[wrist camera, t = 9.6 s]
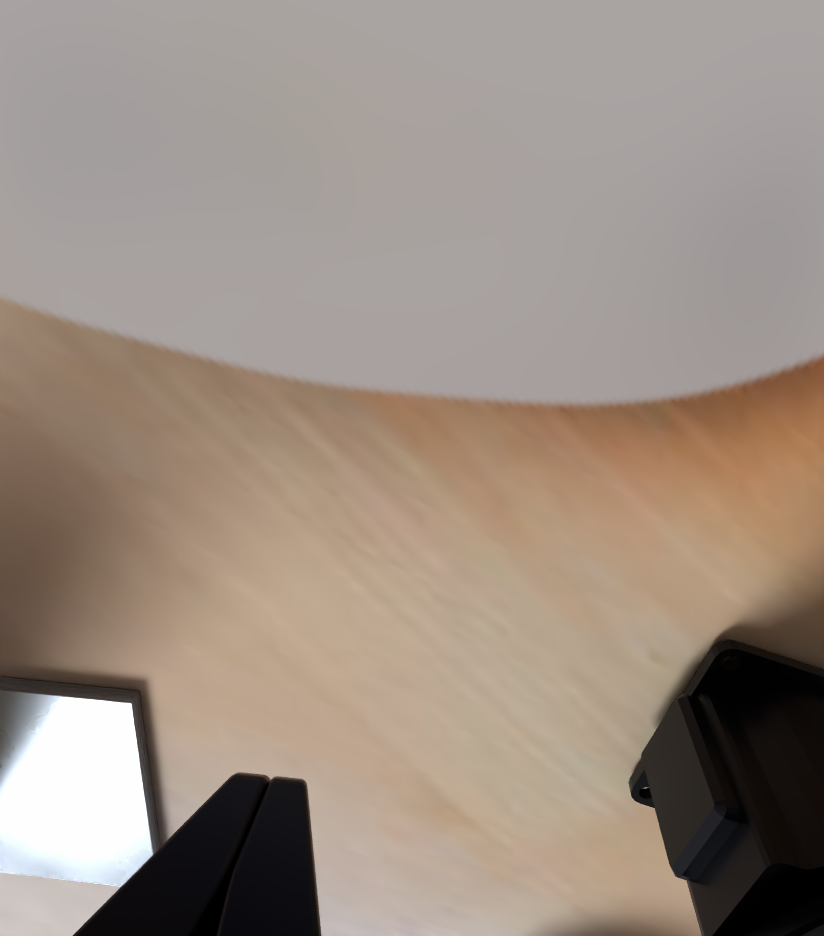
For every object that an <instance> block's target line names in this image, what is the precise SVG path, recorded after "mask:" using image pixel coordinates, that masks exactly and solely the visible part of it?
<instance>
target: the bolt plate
mask: <svg viewBox="0 0 824 936" xmlns="http://www.w3.org/2000/svg"><path fill="white" fill-rule="evenodd" d="M159 848H160V840H159V833H158V826H157V818H156V811H155V804H154V796H153V789H152V782H151V774H150V767H149V760H148V752H147V745H146V738H145V730H144V723H143V716H142V708H141V701H140V694H139V691H135V690H125V689H115V688H105V687H96V686H86V685H76V684H66V683H57V682H47V681H37V680H27V679H18V678H8V677H0V872H3V873H12V874H20V875H28V876H37V877H45V878H53V879H62V880H70V881H78V882H87V883H95V884H103V885H111V886H120V887H121V886H122V885H123V884H124V883H125V882H126V881H127V880H128V879H129V878H130V877H131V876H132V875H133V874H134V873H135V872H136V871H137V870H138V869H139V868H140V867H141V866H142V865H143V864H144V863H145V862H146V861H147V860H148V859H149V858H150V857H151V856H152V855H153V854H154V853H155V852H156V851H157V850H158V849H159Z"/></svg>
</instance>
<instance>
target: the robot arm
mask: <svg viewBox="0 0 824 936" xmlns="http://www.w3.org/2000/svg"><path fill="white" fill-rule="evenodd" d="M728 656H735V657H734V658H733V659H732V660H729V661H723V660H724V659H725V658H726V657H728ZM641 757H642V760H641V761H640V763H639V765H638V766H637V768H636V769H635V771H634V773H633V774H632V776H631V777H630V780H629V787H630V791H631V796H632V798H633V799H634V800H635V801H636V802H638V803H640V804H643V805H646V806H650V807H653V808H655V811H656V814H657V818H658V822H659V826H660V830H661V834H662V837H663V841H664V845H665V849H666V853H667V857H668V860H669V864H670V867H671V869H672V870H673V872H674V874H675V876H676V877H678V878H681V879H684V880H687V884H688V887H689V891H690V895H691V898H692V902H693V905H694V909H695V913H696V916H697V920H698V923H699V927H700V930H701V934H702V936H824V669H821V668H817V667H814V666H811V665H808V664H805V663H802V662H799V661H796V660H793V659H790V658H787V657H784V656H781V655H778V654H774V653H771V652H768V651H765V650H762V649H759V648H756V647H753V646H750V645H747V644H744V643H741V642H738V641H734V640H724V641H720V642H718V643H716V644H715V645H714V646H713V647H712V648H711V649H710V651H709V653H708V654H707V656H706V657H705V659H704V661H703V662H702V664H701V665H700V667H699V669H698V670H697V672H696V673H695V675H694V677H693V678H692V680H691V681H690V683H689V685H688V686H687V688H686V689H685V691H684V693H683V694H682V695H681V696H679V697H678V698H676V699H675V701H674V702H673V704H672V705H671V707H670V709H669V710H668V712H667V713H666V715H665V717H664V718H663V720H662V721H661V723H660V725H659V726H658V728H657V730H656V731H655V733H654V734H653V736H652V738H651V739H650V741H649V742H648V744H647V746H646V747H645V749H644V750H643V752H642V755H641ZM644 787H649V788H646V789H642V788H644ZM73 936H321V926H320V916H319V905H318V895H317V884H316V873H315V863H314V852H313V842H312V831H311V821H310V810H309V799H308V789H307V783H306V782H305V781H304V780H303V779H297V778H288V777H279V776H278V777H274V778H272V779H271V780H270V778H269V777H268V776H266V775H261V774H251V773H236V774H234V775H232V776H231V777H230V778H229V779H228V780H227V781H226V782H225V783H224V784H223V785H222V786H221V787H220V788H219V789H218V790H217V791H216V792H215V793H214V794H213V795H212V796H211V797H210V798H209V799H208V800H207V801H206V802H205V803H204V804H203V805H202V806H201V807H200V808H199V809H198V810H197V811H196V812H195V813H194V814H193V815H192V816H191V817H190V818H189V819H188V820H187V821H186V822H185V823H184V824H183V825H182V826H181V827H180V828H179V829H178V830H177V831H176V832H175V833H174V834H173V835H172V836H171V837H170V838H169V839H168V840H167V841H166V842H165V843H164V844H163V845H162V846H161V847H160V848H159V849H158V850H157V851H156V852H155V853H154V854H153V855H152V856H151V857H150V858H149V859H148V860H147V861H146V862H145V863H144V864H143V865H142V866H141V867H140V868H139V869H138V870H137V871H136V872H135V873H134V874H133V875H132V876H131V877H130V878H129V879H128V880H127V881H126V882H125V883H124V884H123V885H122V886H121V887H120V889H119V890H118V891H117V892H116V893H115V894H114V895H113V896H112V897H111V898H110V899H109V900H108V901H107V902H106V903H105V904H104V905H103V906H102V907H101V908H100V909H99V910H98V911H97V912H96V913H95V914H94V915H93V916H92V917H91V918H90V919H89V920H88V921H87V922H86V923H85V924H84V925H83V926H82V927H81V928H80V929H79V930H78V931H77V932H76V933H75V934H74V935H73Z"/></svg>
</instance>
